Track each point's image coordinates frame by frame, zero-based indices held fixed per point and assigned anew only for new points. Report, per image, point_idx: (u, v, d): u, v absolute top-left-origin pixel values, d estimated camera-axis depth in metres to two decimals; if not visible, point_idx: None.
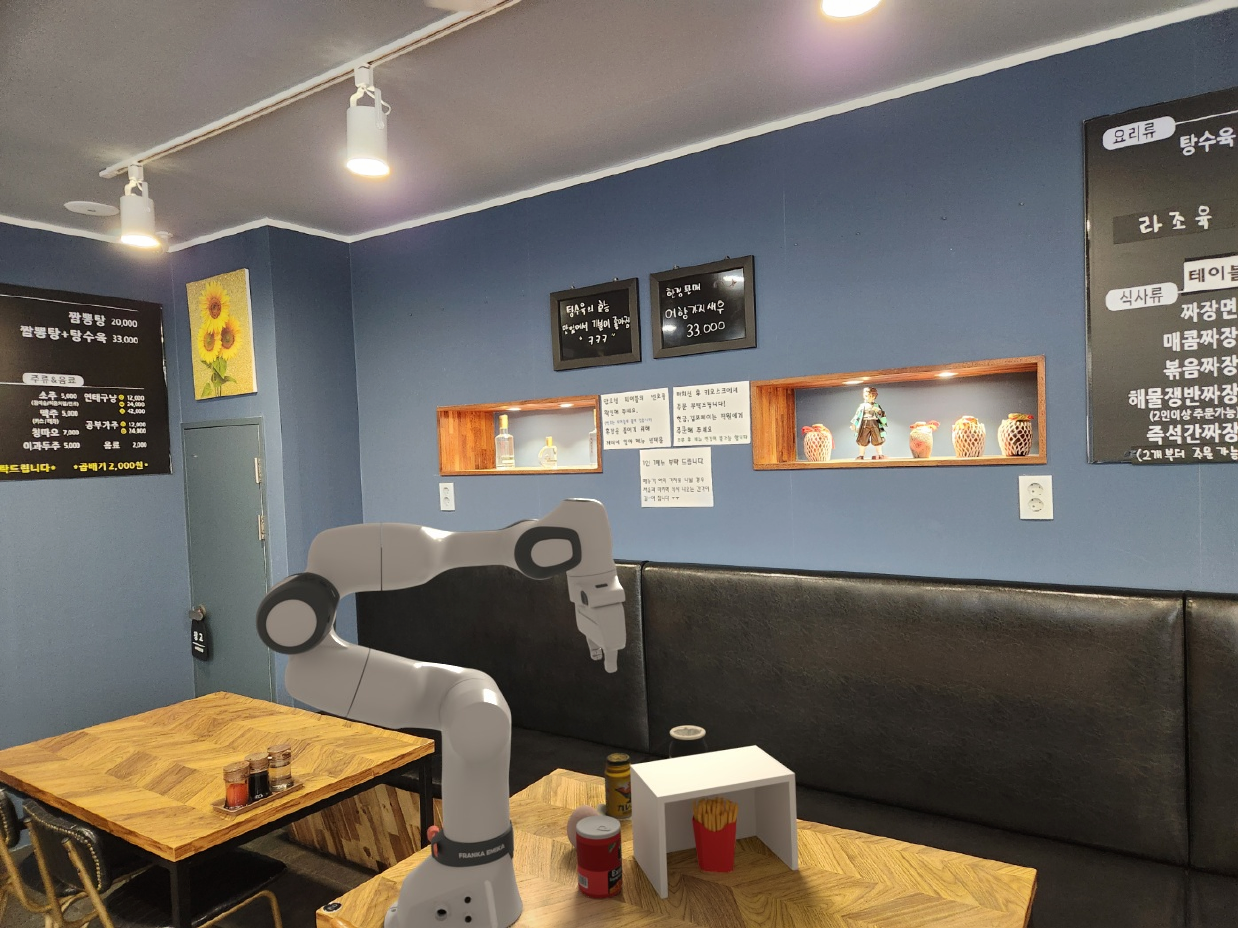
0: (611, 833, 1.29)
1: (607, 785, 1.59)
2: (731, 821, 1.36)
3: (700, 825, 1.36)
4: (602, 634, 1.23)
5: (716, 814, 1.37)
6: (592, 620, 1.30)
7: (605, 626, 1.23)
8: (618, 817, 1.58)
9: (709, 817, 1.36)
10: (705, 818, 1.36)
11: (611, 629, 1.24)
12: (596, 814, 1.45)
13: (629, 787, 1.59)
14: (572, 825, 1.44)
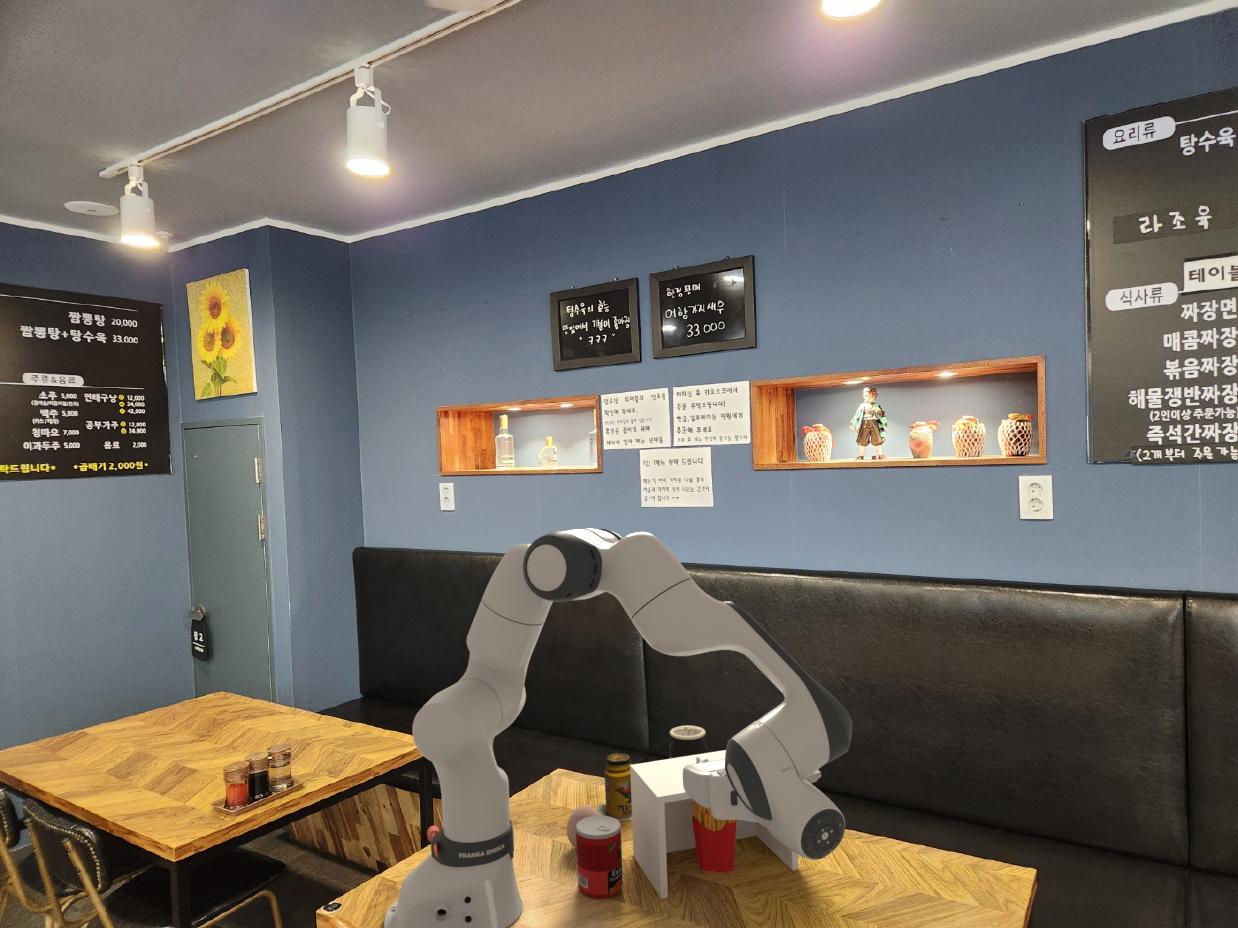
0: (611, 833, 1.29)
1: (607, 785, 1.59)
2: (731, 821, 1.36)
3: (700, 825, 1.36)
4: (689, 770, 1.15)
5: None
6: None
7: (692, 778, 1.14)
8: (618, 817, 1.58)
9: (709, 817, 1.36)
10: (705, 818, 1.36)
11: (690, 782, 1.15)
12: (596, 814, 1.45)
13: (629, 787, 1.59)
14: (572, 825, 1.44)
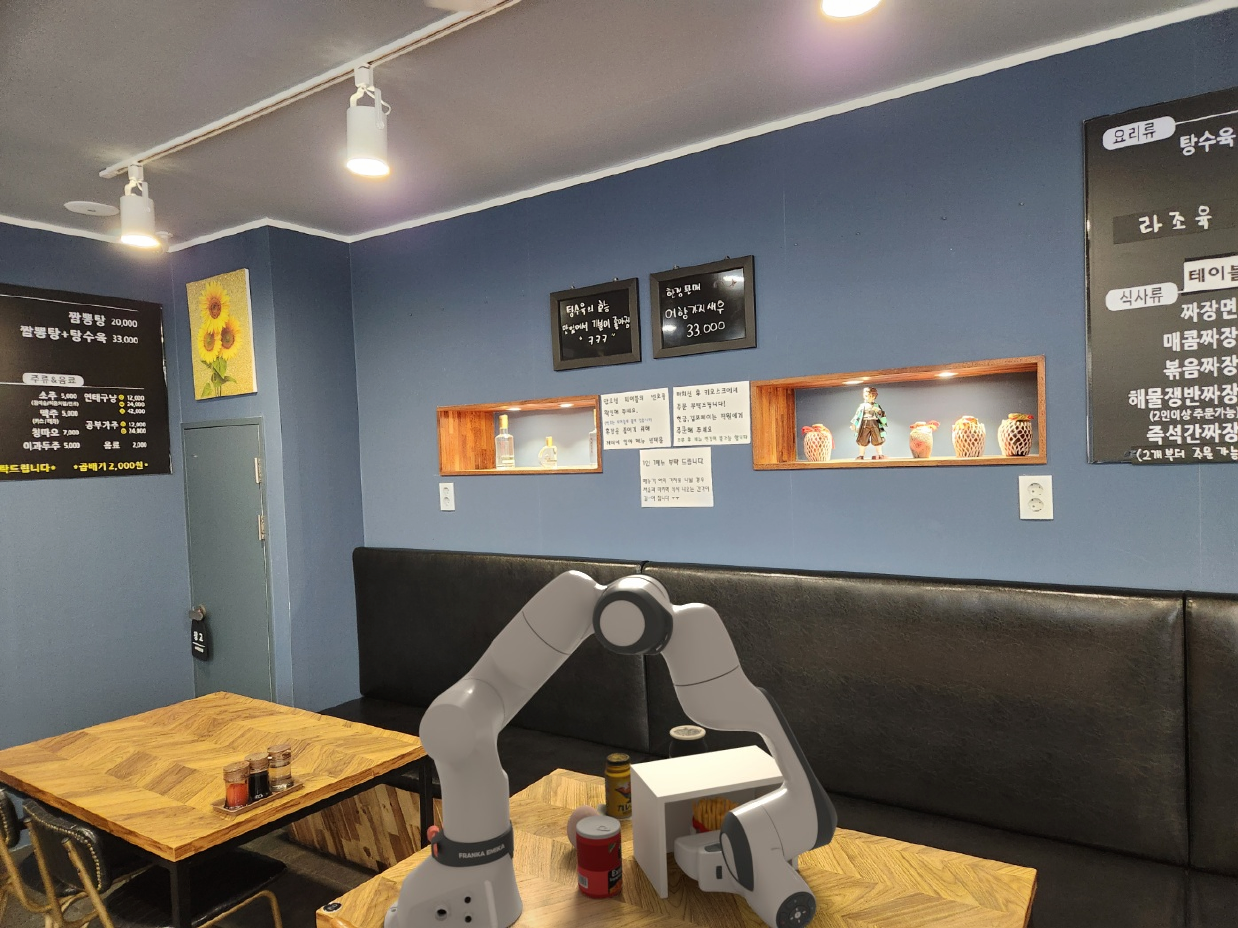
0: (611, 833, 1.29)
1: (607, 785, 1.59)
2: None
3: (700, 825, 1.36)
4: (680, 844, 1.28)
5: (716, 814, 1.37)
6: None
7: (682, 851, 1.27)
8: (618, 817, 1.58)
9: (709, 817, 1.36)
10: (705, 818, 1.36)
11: (680, 855, 1.28)
12: (596, 814, 1.45)
13: (629, 787, 1.59)
14: (572, 825, 1.44)
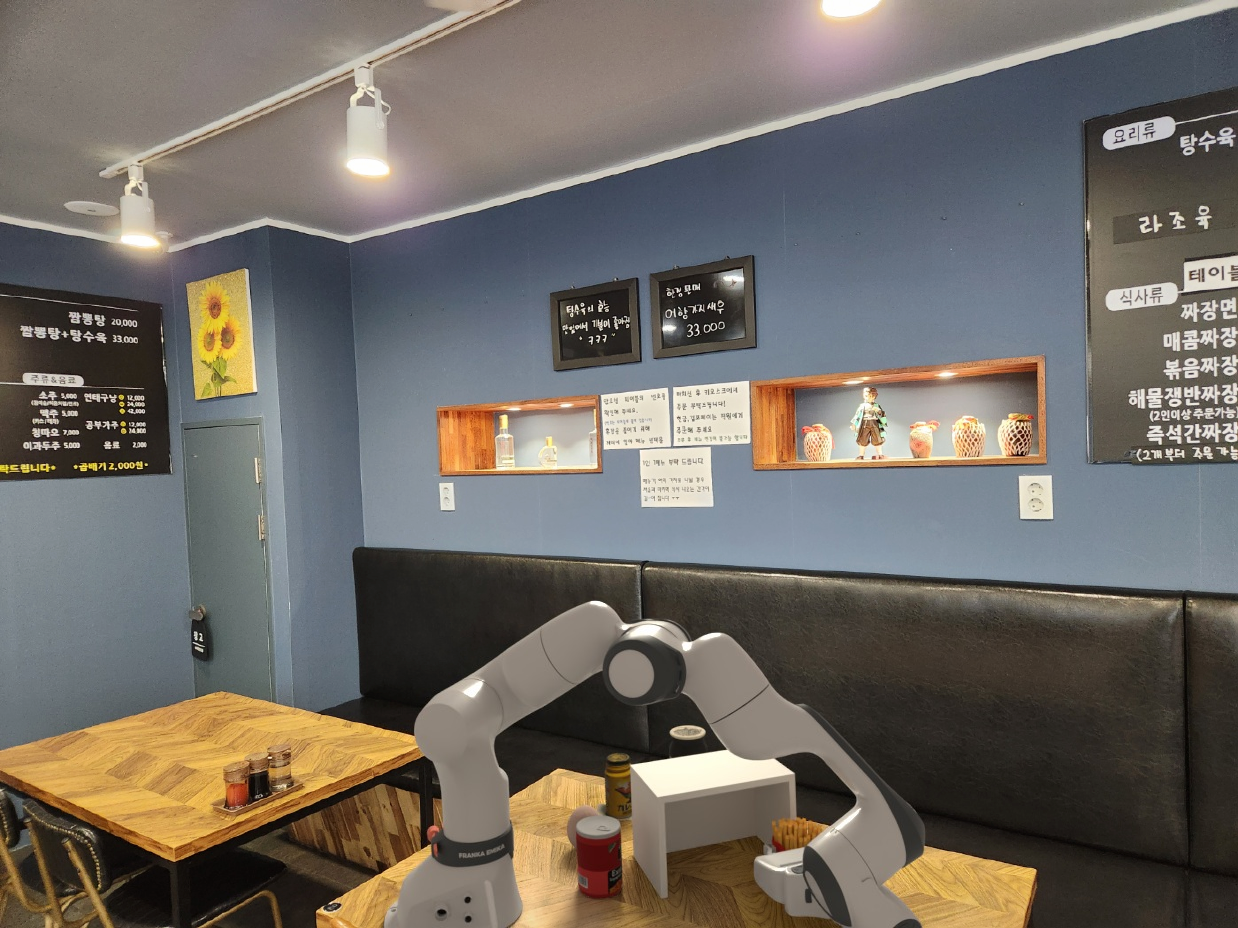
0: (611, 833, 1.29)
1: (607, 785, 1.59)
2: None
3: (780, 847, 1.27)
4: (761, 864, 1.19)
5: (798, 836, 1.27)
6: None
7: (765, 872, 1.18)
8: (618, 817, 1.58)
9: (790, 839, 1.27)
10: (786, 840, 1.27)
11: (763, 876, 1.18)
12: (596, 814, 1.45)
13: (629, 787, 1.59)
14: (572, 825, 1.44)
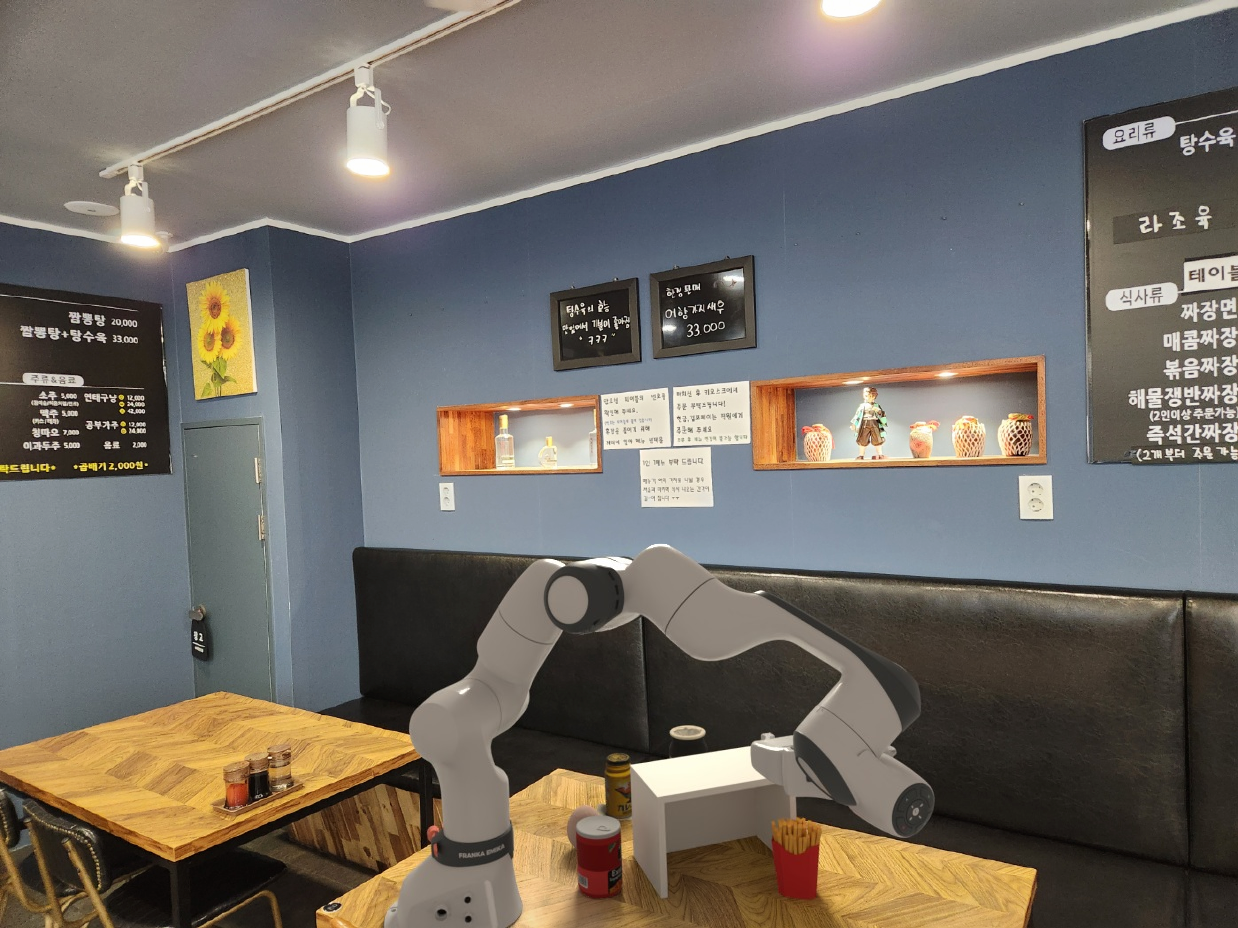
0: (611, 833, 1.29)
1: (607, 785, 1.59)
2: (814, 844, 1.27)
3: (780, 847, 1.27)
4: (759, 746, 1.10)
5: (797, 836, 1.27)
6: None
7: (762, 754, 1.09)
8: (618, 817, 1.58)
9: (790, 839, 1.27)
10: (786, 840, 1.27)
11: (760, 758, 1.09)
12: (596, 814, 1.45)
13: (629, 787, 1.59)
14: (572, 825, 1.44)
